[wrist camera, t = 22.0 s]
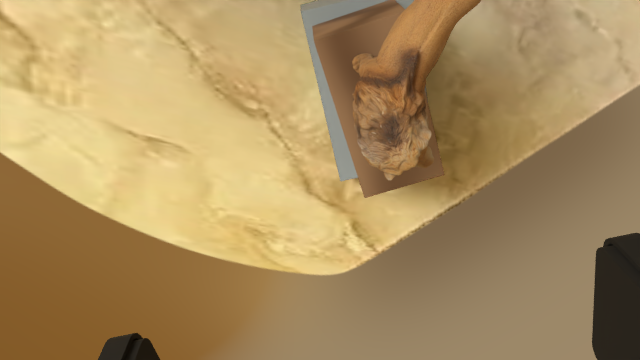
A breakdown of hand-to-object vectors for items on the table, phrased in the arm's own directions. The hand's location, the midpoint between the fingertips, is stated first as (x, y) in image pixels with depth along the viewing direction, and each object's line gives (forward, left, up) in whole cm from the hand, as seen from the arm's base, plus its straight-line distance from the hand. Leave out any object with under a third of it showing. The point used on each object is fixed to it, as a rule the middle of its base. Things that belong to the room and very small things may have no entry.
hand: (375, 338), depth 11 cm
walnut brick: (-3, +5, -29) cm, 30 cm away
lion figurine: (-6, 0, -24) cm, 25 cm away
